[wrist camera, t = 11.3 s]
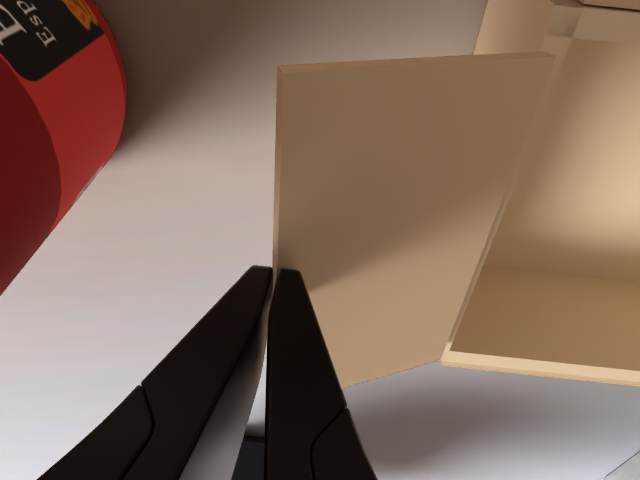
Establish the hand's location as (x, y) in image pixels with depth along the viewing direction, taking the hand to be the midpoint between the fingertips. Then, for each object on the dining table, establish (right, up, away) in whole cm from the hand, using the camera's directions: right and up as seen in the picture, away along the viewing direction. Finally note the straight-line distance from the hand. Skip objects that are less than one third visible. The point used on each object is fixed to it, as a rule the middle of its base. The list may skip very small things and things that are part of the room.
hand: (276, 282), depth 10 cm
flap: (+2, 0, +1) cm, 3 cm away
